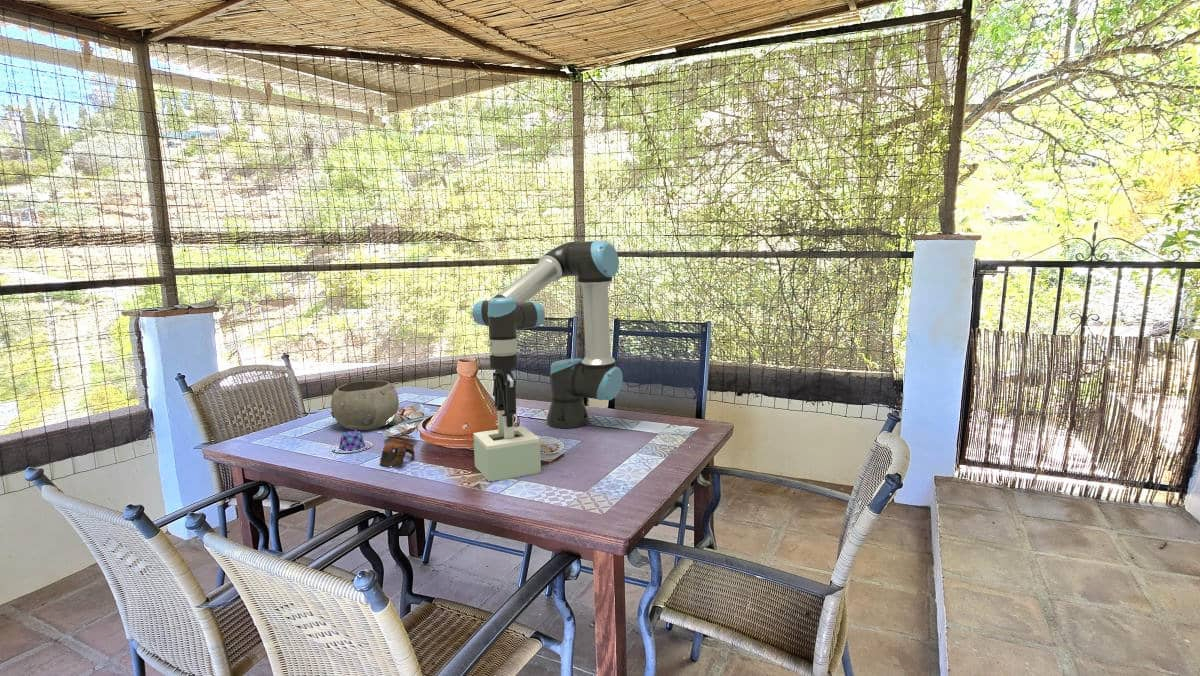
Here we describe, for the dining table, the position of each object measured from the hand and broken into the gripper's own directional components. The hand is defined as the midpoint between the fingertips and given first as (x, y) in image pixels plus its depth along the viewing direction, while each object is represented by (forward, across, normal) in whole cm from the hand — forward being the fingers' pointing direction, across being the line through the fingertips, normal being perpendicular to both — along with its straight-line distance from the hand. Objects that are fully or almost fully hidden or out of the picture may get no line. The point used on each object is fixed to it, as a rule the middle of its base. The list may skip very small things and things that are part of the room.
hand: (506, 434), depth 172 cm
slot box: (+10, 0, 0) cm, 10 cm away
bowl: (+10, -69, -30) cm, 76 cm away
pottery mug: (+11, -21, -27) cm, 36 cm away
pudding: (+11, -43, -38) cm, 58 cm away
